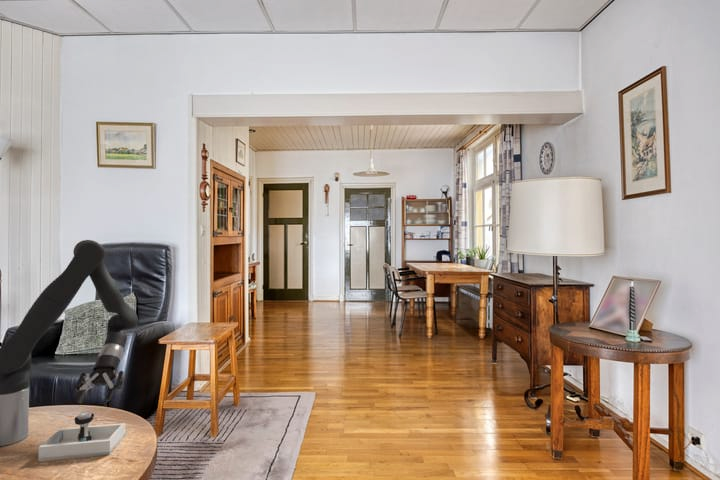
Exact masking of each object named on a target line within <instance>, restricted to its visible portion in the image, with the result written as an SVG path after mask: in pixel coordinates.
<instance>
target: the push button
mask: <svg viewBox="0 0 720 480" xmlns="http://www.w3.org/2000/svg"><path fill="white" fill-rule="evenodd" d="M94 417H95V414H94V413H92V412H91V411H83V412H80V413H78V414H77V416H75V417H74V419H73V420H74V424H75V425H78V426H79V427H80V434H78V442H85V441H91V440H92V437H91V436H90V431H89V429H88V426H89V424H90V423H91V422H93V420H94Z"/></svg>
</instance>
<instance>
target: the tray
mask: <svg viewBox="0 0 720 480" xmlns="http://www.w3.org/2000/svg"><path fill="white" fill-rule="evenodd" d="M88 429H89V431H90V436H91V437H92V440H91V441H85V442H78V434H80V426H76V427H75V426H74V427H64V428H60V429H59V430H58V431H57V432H55V433H54V434H53V435H52V436H51V437H49V438H48V439H47V440H45V441H44V442H43V443H42V444H40V445H39V446H38V458H37V459H38V460H37V461H38V462H48V461H49V462H50V461H58V460H59V461H61V460H68V459H69V460H70V459H78V458H89V457H101V456H109V455H111V454H112V453H113V451H114V450H115V449H116V448H117V447H118V445H120V443H121V442H122V441H123V439H124V438H125V437H126V422H123V423H113V424H100V425H88Z"/></svg>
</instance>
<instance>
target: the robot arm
mask: <svg viewBox="0 0 720 480" xmlns="http://www.w3.org/2000/svg"><path fill="white" fill-rule="evenodd" d="M72 252H73V257H72V259H71V260H70V262H69V263H68V265H67V267H66V268H65V269H64V270H63V272H62V273H61V274H59V275H58V276H57V277H56V278H55V279H54V280H53V281H51V282H50V283H49V284H48V285H47V286H46V287H45V288H44V289H43V290H42V291H41V293H40V294H39V296H38V297H37V298H36V300H35V301H34V302H33V303H32V305H31V307H29V309H28V311H27V313H26V314H25V316H24V317H23V319H22V321H21V323H20V324H19V326H18V327H17V329H16V330H15V331H14V332H13V334H12V335H11V336H10V337H9V338H8V339H7V341H5V342H4V344H3V345H2V346H1V347H0V447H2V446H8V445H12V444H16V443H18V442H21V441H23V440H25V439H26V438H27V437H28V436H29V423H30V422H29V417H30V415H29V413H30V380H31V372H32V370H31V369H32V352H33V350H34V348H35V347H36V345H37V344H38V342H39V341H40V339H42V337H43V336H44V335H45V334H46V333H47V332H48V331H49V330H50V328H52V326H53V325H54V324H55V323H56V322H57V321H58V320H59V318H60V317H61V316H62V314H64V312H65V310H67V308H68V307H69V305H70V304H71V302H72V301H73V299H74V298H75V297H76V294H77V293H78V292H79V290H80V289H81V287H82V285H83V284H84V283H85V281H86V280H87V278H88V277H89V278H90V280H91V282H92V284H93V286H94V289H95V290H96V293H97V295H98V297H99V300H100V302H101V304H102V305H103V307H104V309H105V311H106V312H107V313H114V315H112V316H111V317H110V318H109V319H108V322H107V324H106V325H107V328H106V339H105V340H104V343H103V345H102V347H101V349H100V351H99V353H98V355H97V356H98V357H97V358H96V361H95V363H94V365H93V370H92V372H91V373H85V372H82V373H80V376H79V378H78V380H77V381H76V384H75V386H74V389H75V390H76V392H77V393H78V394H77V396H76V399H75V400H76V402H77V403H78V404H82V403H83V401H84V399H85V396H86V392H88V391H89V390H90V389H93V388H94V387H99V386H103V387H104V386H107V385H108V389H107V392H106V394H105V397H104V401H105V402H110V400H112V398H113V397H114V396H113V395H114V393H115V391H117V390H121V389H122V386H123V384H124V379H125V376H126V375H125V372H124V370H120V371H119V372H117V371H118V368H119V365H120V363H121V361H122V357H123V353H124V349H125V347H126V344H127V341H128V336H127V334H126V333H124V332H123V331H128V330H133V329H135V328H136V327H137V326H138V324H139V318H138V315H137V313H136V312H135V310H134V309H133V308H132V307H131V306H130V305H129V304H128V302H126V301H125V299H124V297H123V295H122V293H121V291H120V289H119V286H117V284H116V282H115V281H114V279H113V277H112V276H111V274H110V272H109V271H108V269H107V266H106V263H105V261H104V260H105V256H106V250H105V247H104V246H103V245H102V244H101V243H99V242H98V241H95V240H91V239H85V240H81V241H79V242H77V243H76V244H75V246H74V248H73V251H72ZM115 378H117V379H116V383H115V384H114V383H113V382H112V381H113V380H114V379H115Z"/></svg>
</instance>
